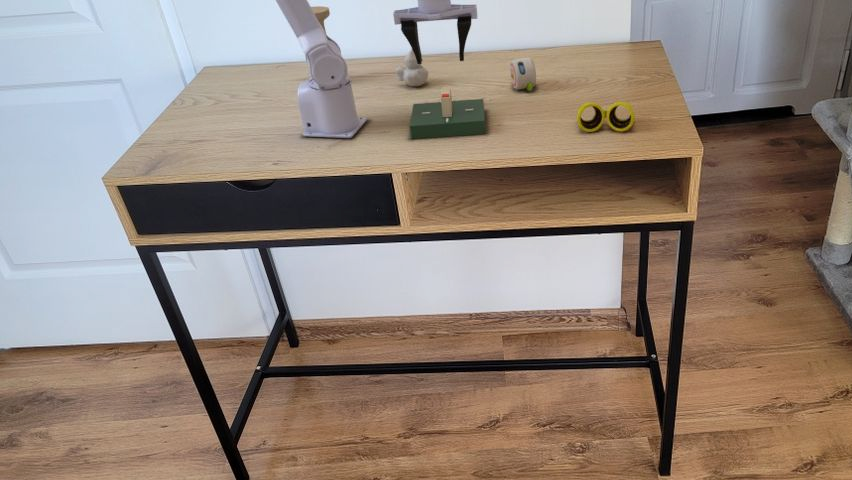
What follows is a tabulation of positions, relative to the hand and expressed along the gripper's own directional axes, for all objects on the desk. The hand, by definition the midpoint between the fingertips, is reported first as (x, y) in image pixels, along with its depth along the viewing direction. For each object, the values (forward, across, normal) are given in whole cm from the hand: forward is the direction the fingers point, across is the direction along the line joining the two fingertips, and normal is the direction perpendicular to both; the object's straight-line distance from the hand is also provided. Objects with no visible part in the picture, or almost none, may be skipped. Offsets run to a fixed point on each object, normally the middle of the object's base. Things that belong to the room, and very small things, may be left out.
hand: (440, 60), depth 135 cm
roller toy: (+10, +15, +8) cm, 20 cm away
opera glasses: (+10, +28, -12) cm, 32 cm away
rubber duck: (+10, -7, +14) cm, 19 cm away
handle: (+10, -26, +19) cm, 33 cm away
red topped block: (+7, +1, -7) cm, 10 cm away
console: (+9, +1, -7) cm, 12 cm away
